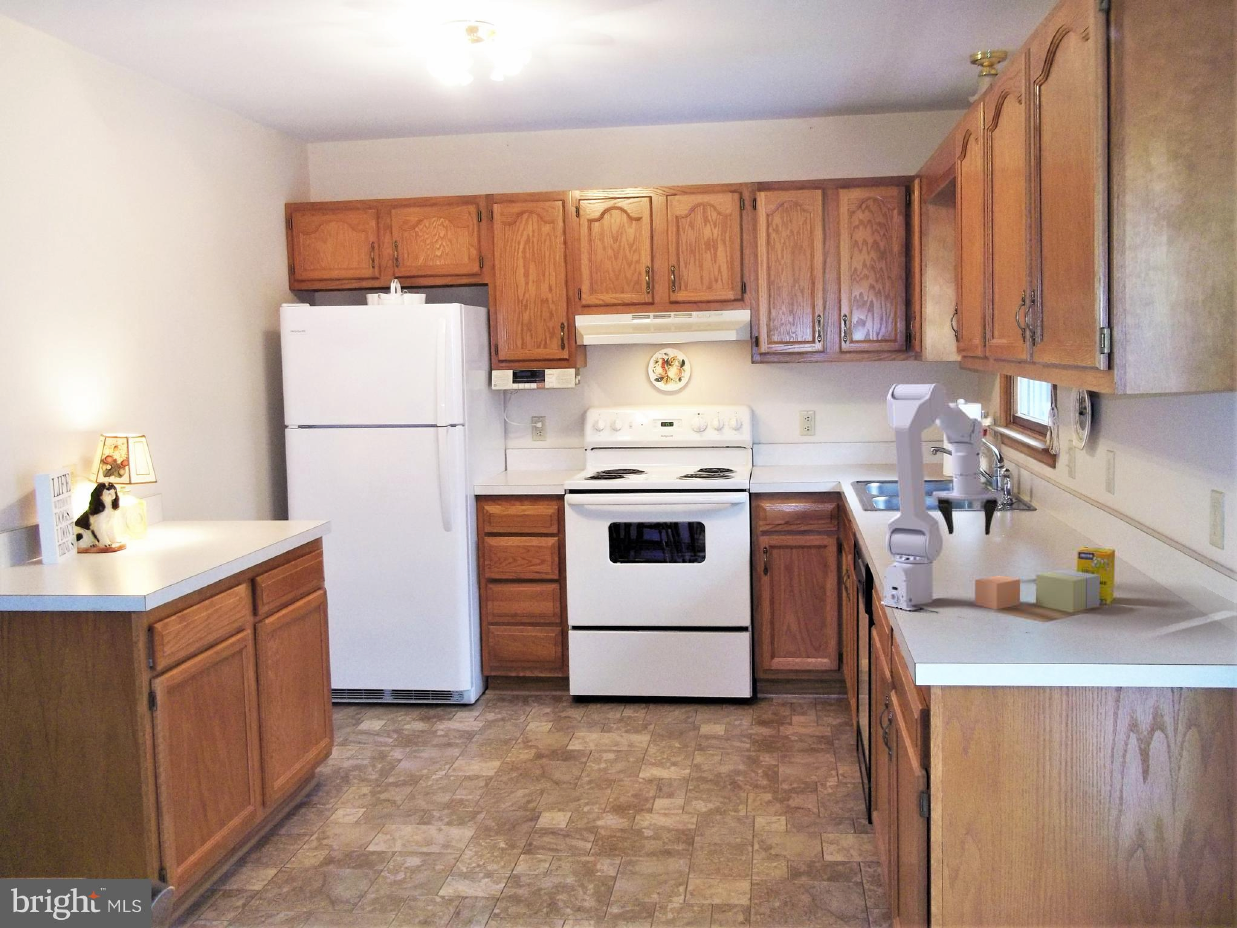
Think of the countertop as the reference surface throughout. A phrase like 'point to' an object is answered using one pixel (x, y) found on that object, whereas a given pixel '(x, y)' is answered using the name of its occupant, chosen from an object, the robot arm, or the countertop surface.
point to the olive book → (1061, 591)
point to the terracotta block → (997, 592)
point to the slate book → (1087, 586)
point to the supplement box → (1099, 569)
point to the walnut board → (1042, 612)
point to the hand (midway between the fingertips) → (969, 533)
